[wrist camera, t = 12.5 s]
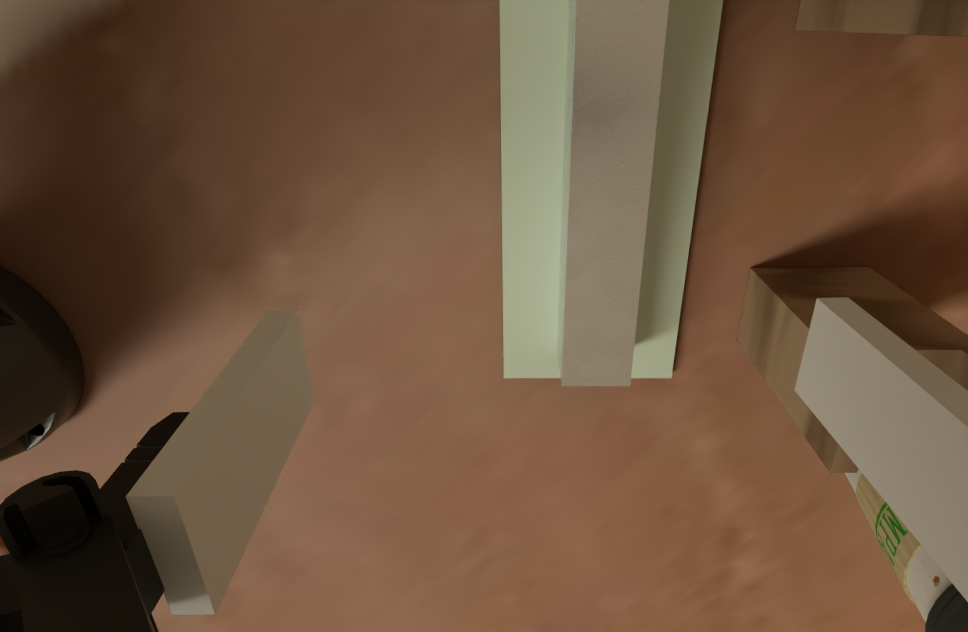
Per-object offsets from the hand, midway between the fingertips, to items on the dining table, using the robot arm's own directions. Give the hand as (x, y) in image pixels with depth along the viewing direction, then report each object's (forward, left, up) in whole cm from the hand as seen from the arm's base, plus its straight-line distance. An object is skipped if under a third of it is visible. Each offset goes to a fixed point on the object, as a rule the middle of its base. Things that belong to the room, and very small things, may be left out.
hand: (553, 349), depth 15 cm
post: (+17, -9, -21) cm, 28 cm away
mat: (+4, 0, -21) cm, 21 cm away
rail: (+4, 0, -20) cm, 20 cm away
